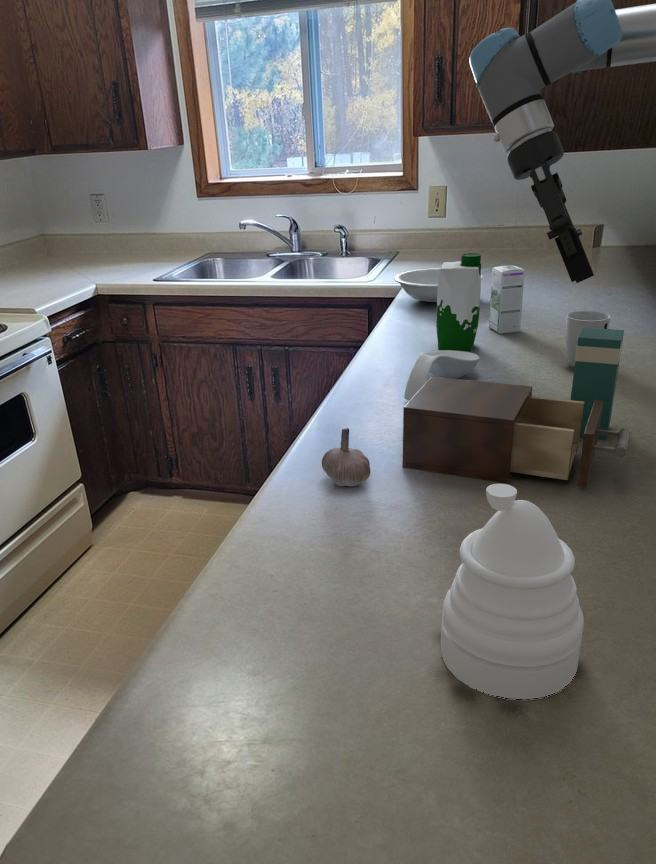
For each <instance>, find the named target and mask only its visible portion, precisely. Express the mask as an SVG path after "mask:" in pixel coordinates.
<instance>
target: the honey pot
mask: <svg viewBox="0 0 656 864" xmlns="http://www.w3.org/2000/svg"><path fill="white" fill-rule="evenodd" d="M517 495H518V489H517V488H515V486H512V485H510V484H508V483H492V484H490V485H488V486H487V487H486V489H485V496H486V499H487V502H488V504H489V506H490V507H491V508H492V509H493V510H495V511H496V512H495V513H494V514H493V515H492V516H491V517H490V519H489V520H488V521H487V522H486V523H485V525H484V526H483V527H482V528H479V529H476V530H474V531H472V532H471V533H469V534H468V535H467V536H466V537H465V538H464V539H463V540H462V542H461V545H460V547H459V557H460V560H461V562H462V563H461V564H460V565H459V566H458V568H457V570H456V573H455V577H454V578H453V581H452V584H451V587H450V588H448V590H447V593H446V595H445V597H444V599H443V603H442V614H441V615H442V618H441V629H440V631H441V632H440V633H441V634H440V652H441V653H440V654H441V658H442V657H443V658H442V660H443V662H444V664H445V666H446V668H447V669H448V670H449V672H450V673H451V674H452V675H453V676H454V677H455V678H456V679H457V680H458V681H460V682H461V683H463V684H464V685H466V686H467V687H468V688H469V689H472V690H475V691H477V692H480V693H482V694H484V695H486V696H489V697H495V698H499V699H504V700H507V701H517V700H516V699H519V698H522V699H530V698H538V697H542V696H543V697H544V696H547V697H545V698H544V699H546V698H549V697H551V696H553V695H556V694H559V693H561V692H562V691H563V690H564V689H566V688H567V687H568V686H571V684H572V682H573V680H574V679H575V677H576V675H577V673H576V672H578V666H579V660H580V654H581V647H582V640H583V633H584V625H585V620H584V619H585V618H584V614H583V611H582V608H581V605H580V600H579V597H578V594H577V590H578V588H577V585H576V581H575V580H574V577H573V576H572V572H574V569H575V564H576V559H575V556H574V552H573V550H572V548H570V546H568V544H567V543H566V542H565V541H563V540H562V539H560V538H559V536H558V533H557V532H556V530H555V528H554V526H553V524H552V523H551V521H550V519H549V518H548V517H547V515H546V514H545V513H544V512H543V510H541V508H540V507H538V506H537V505H536V504H534V503H533V502H531V501H529V500H526V499H524V500H523V499H518V500H516V498H517ZM575 674H576V675H575ZM574 676H575V677H574ZM573 677H574V678H573ZM572 679H573V680H572ZM571 681H572V682H571ZM570 682H571V683H570ZM569 683H570V684H569ZM568 684H569V685H568ZM468 685H469V686H468ZM567 685H568V686H567ZM565 686H567V687H565ZM564 687H565V688H564ZM563 688H564V689H563ZM476 689H477V690H476ZM561 689H563V690H561ZM560 690H561V691H560ZM558 691H560V692H558ZM483 692H484V693H483ZM555 692H558V693H555ZM486 693H487V694H486ZM553 693H555V694H553ZM488 694H489V695H488ZM550 694H553V695H550ZM492 695H494V696H492ZM548 695H550V696H548ZM496 696H500V697H496ZM501 697H504V698H501ZM505 698H516V699H505ZM540 699H543V698H538V699H537V700H540ZM533 700H535V699H530V700H529V701H533ZM524 701H528V700H524Z"/></svg>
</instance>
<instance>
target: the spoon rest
mask: <svg viewBox="0 0 656 864" xmlns="http://www.w3.org/2000/svg"><path fill="white" fill-rule="evenodd" d="M479 362H480V356H479V355H478V354H476V353H474V352H464V351H452V350H439V349H438V350H429V351H423V352H421V353H419V354H418V357H417V359H416V361H415V363H414V365H413V366H412V369H411V371H410V374H409V376H408V379H407V382H406V386H405V390H404V396H403V397H404V399H405V400H406V401H410V400H411V399H412V398H413V397H414V396H415V394H416V393H417V392H418V391H419V390H420V389H421V388H422V387H423V386H424V385H425V384H426V383H427V382H428V380H429V379H430V374H431V377H443V378H453V379H461V378H462V377H463V376H465V375H467V374H469V373H470V372H472V371H473V370H474V369H475V368H476V366H477V365H478V364H479Z"/></svg>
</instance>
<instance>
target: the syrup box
mask: <svg viewBox="0 0 656 864" xmlns="http://www.w3.org/2000/svg"><path fill="white" fill-rule="evenodd" d="M491 271H492V272H491V285H490V304H489V320H488V321H489V323H488V328H489V329H490V330H492V331H493V332H495V333H497V334H511V333H520V332H521V326H522V325H521V324H522V313H523V312H522V311H523V299H524V286H525V285H524V283H525V271H526V270H525V269H524V268H522V267H519V266H516V265H499V266H494V267H492V270H491Z"/></svg>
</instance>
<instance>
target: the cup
mask: <svg viewBox="0 0 656 864" xmlns="http://www.w3.org/2000/svg"><path fill="white" fill-rule="evenodd" d="M565 318H566V319H565V348H566V349H565V350H566V356H567V361H568V365H569V366H570V367H572V368H575V357H576V349H577V344H578V337H579V335H580V333H581V331H582V329H583V327H584V328H599V329H609V326H610V322H611V315H610V314H608V313H607V312H602V311H596V310H595V311H594V310H575V311H571V312H568V313H567V314H566V317H565Z"/></svg>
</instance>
